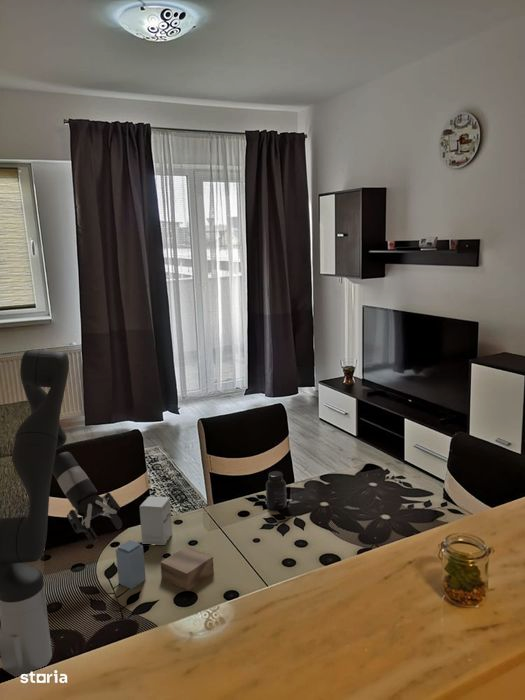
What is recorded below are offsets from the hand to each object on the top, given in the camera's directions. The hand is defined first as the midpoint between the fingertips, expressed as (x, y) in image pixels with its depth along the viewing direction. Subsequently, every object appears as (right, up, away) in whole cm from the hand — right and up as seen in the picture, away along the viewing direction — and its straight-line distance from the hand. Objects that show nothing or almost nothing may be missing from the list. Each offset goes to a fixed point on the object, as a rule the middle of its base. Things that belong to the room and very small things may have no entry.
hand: (108, 534), depth 154 cm
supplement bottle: (+47, -3, +39) cm, 61 cm away
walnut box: (+22, -11, 0) cm, 25 cm away
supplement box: (+10, -8, +20) cm, 24 cm away
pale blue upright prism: (+7, -12, -2) cm, 14 cm away
